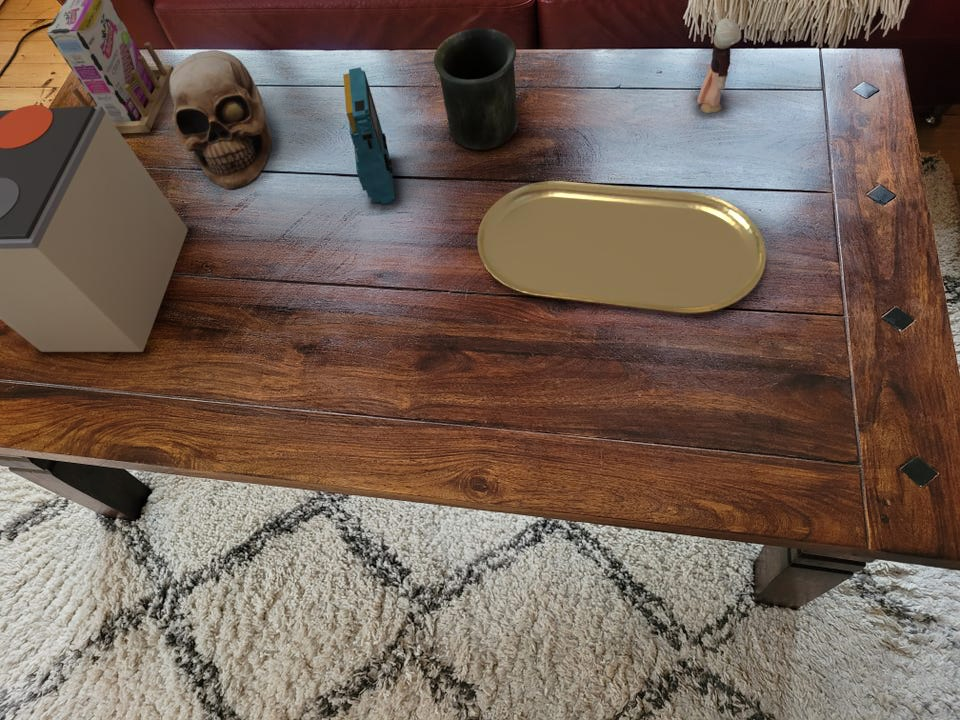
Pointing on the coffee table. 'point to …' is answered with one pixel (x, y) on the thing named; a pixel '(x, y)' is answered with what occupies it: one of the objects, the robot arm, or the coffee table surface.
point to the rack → (154, 99)
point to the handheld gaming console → (368, 139)
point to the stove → (80, 233)
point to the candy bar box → (100, 55)
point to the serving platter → (622, 246)
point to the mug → (479, 87)
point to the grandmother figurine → (718, 65)
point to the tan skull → (220, 117)
